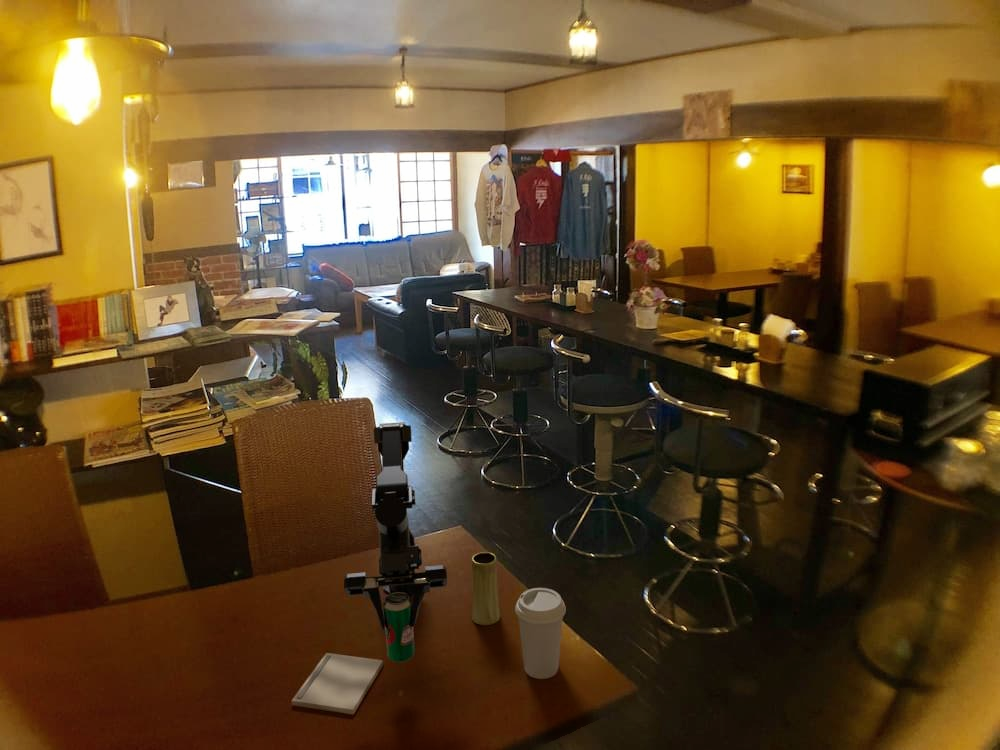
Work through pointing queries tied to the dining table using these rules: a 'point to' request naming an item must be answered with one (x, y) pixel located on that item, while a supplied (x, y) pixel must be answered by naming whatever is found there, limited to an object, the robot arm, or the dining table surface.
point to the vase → (485, 589)
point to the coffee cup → (540, 630)
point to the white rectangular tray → (338, 683)
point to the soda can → (399, 627)
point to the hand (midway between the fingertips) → (398, 628)
